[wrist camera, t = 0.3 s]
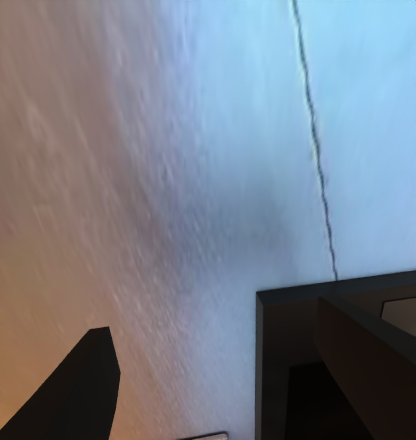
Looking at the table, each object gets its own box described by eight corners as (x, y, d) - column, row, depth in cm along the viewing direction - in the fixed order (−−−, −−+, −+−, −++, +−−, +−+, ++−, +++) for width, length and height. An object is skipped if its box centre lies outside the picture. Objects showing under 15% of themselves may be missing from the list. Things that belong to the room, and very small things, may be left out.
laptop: (255, 291, 21) (263, 306, 19) (561, 250, 24) (593, 260, 22) (254, 451, 28) (260, 473, 26) (490, 403, 31) (510, 420, 29)
